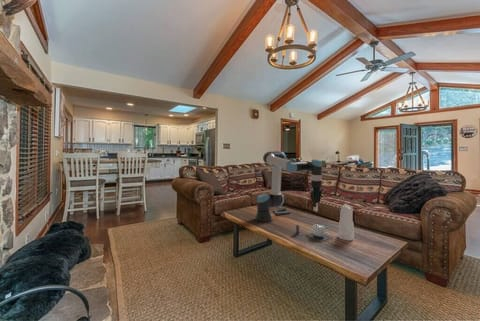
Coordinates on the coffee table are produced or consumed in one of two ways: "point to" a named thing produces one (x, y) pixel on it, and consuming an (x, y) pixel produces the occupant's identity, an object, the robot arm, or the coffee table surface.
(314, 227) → the grey octagonal holder
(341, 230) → the decorative vase
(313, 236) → the square peg base
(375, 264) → the coffee table surface
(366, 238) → the coffee table surface
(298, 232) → the stand
